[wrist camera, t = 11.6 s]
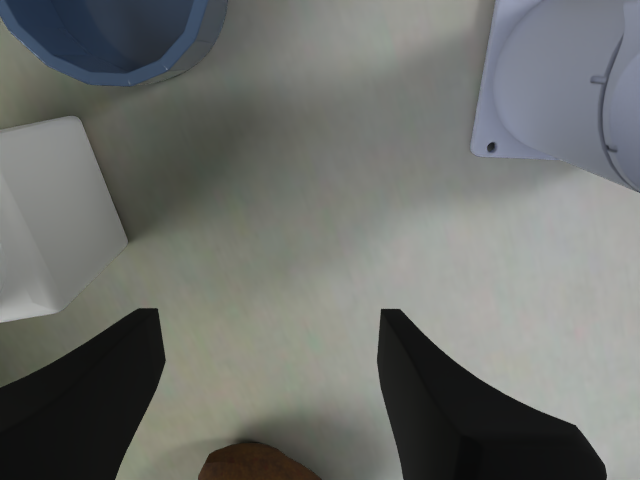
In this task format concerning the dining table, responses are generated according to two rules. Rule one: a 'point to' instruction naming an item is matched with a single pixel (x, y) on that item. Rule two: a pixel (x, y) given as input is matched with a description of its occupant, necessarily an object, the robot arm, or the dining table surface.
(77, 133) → the medicine bottle
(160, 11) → the cup
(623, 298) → the dining table surface
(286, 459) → the potato
